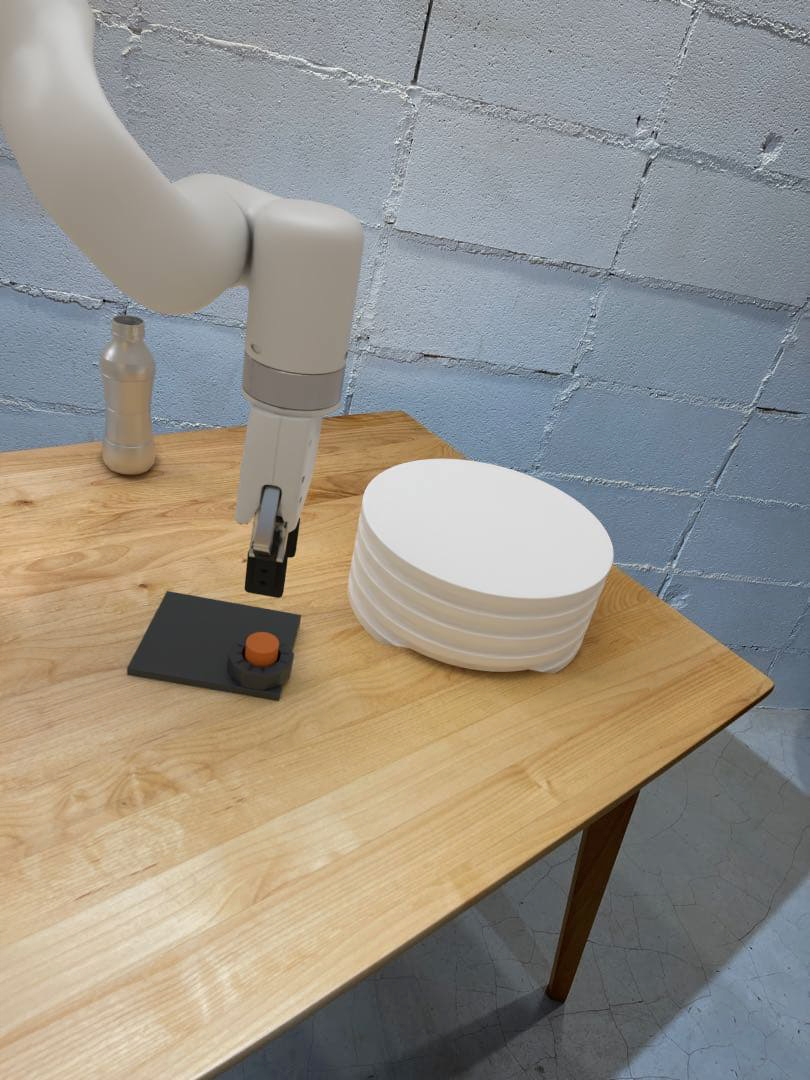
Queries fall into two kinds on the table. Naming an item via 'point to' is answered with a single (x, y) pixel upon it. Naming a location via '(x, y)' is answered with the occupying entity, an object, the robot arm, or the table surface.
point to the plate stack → (477, 566)
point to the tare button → (261, 649)
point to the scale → (214, 646)
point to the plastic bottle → (128, 397)
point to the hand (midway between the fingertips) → (271, 571)
